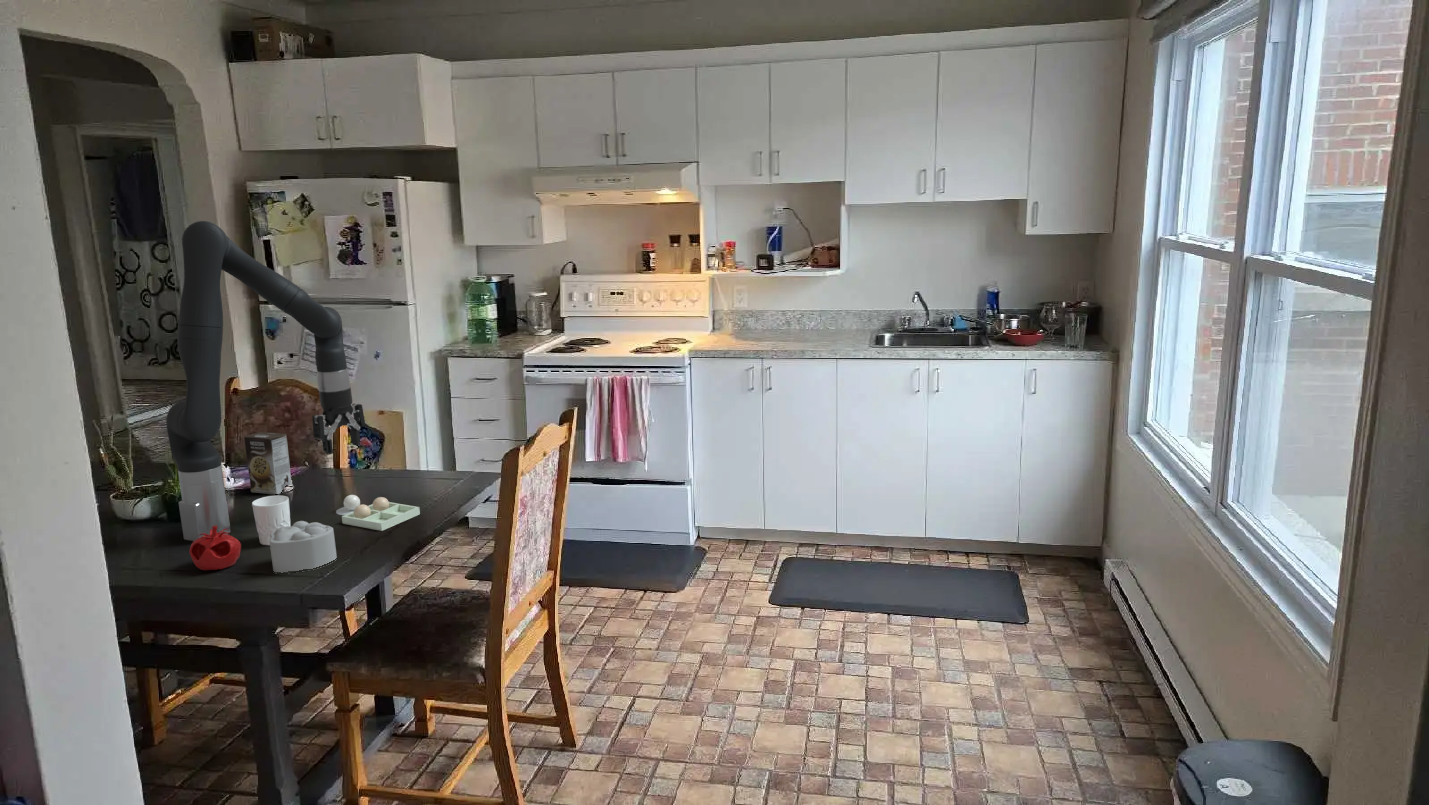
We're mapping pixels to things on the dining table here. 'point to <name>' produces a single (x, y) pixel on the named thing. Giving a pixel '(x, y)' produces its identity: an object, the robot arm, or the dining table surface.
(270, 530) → the white cup
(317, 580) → the dining table surface
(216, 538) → the red tomato lantern
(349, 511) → the saucer
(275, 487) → the coffee box
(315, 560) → the lumpy-topped squat cylinder
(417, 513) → the tray
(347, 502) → the egg
